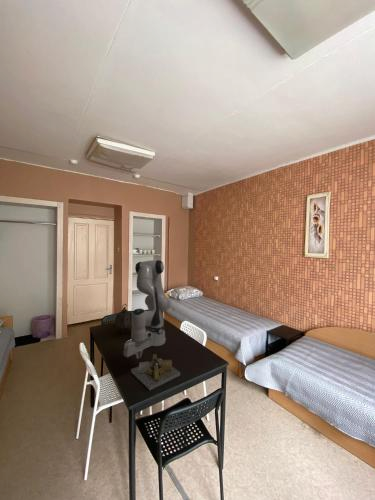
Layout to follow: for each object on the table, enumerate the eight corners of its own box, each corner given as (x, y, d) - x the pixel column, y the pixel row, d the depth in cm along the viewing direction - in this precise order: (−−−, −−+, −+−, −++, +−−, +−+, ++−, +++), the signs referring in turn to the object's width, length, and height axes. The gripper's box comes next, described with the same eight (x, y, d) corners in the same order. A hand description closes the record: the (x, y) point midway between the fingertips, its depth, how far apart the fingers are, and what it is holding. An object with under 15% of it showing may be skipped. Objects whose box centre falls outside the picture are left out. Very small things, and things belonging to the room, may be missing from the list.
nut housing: (131, 372, 134) (131, 361, 134) (160, 360, 149) (160, 350, 149) (149, 390, 118) (149, 378, 118) (180, 375, 132) (180, 364, 132)
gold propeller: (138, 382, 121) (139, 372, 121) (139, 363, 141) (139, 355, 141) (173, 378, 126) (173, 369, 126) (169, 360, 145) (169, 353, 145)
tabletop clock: (123, 333, 193) (123, 306, 193) (114, 332, 196) (115, 305, 196) (132, 328, 207) (132, 302, 207) (124, 327, 210) (124, 301, 210)
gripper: (127, 343, 122) (127, 367, 123) (154, 332, 138) (154, 353, 139) (121, 340, 126) (121, 363, 127) (147, 329, 142) (147, 349, 143)
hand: (138, 357), depth 133 cm, fingers closed
